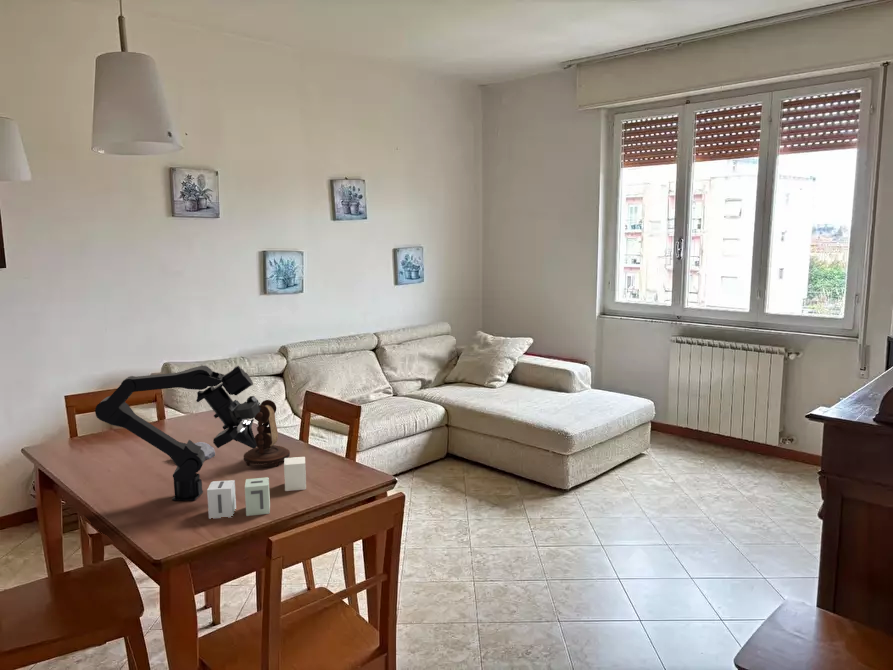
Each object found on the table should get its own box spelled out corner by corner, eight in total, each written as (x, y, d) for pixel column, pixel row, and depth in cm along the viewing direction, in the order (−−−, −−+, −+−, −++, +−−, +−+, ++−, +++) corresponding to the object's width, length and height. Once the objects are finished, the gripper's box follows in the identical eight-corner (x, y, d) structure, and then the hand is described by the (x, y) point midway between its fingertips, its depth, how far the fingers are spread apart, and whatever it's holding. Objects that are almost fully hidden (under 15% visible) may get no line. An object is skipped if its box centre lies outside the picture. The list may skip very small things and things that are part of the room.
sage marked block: (246, 516, 171) (244, 487, 169) (247, 507, 177) (245, 478, 175) (269, 513, 172) (268, 484, 171) (269, 504, 178) (268, 476, 177)
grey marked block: (208, 519, 169) (206, 489, 168) (213, 509, 175) (211, 480, 174) (232, 517, 170) (230, 488, 169) (236, 507, 176) (234, 479, 175)
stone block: (218, 461, 218) (202, 450, 224) (219, 449, 217) (202, 437, 223) (186, 472, 209) (169, 460, 215) (186, 459, 208) (169, 447, 213)
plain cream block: (285, 491, 188) (284, 465, 186) (285, 483, 193) (284, 458, 192) (306, 489, 189) (305, 463, 188) (305, 481, 195) (305, 456, 194)
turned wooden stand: (281, 469, 205) (279, 408, 202) (236, 468, 206) (233, 407, 203) (295, 453, 220) (293, 397, 217) (253, 453, 221) (250, 396, 218)
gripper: (227, 408, 171) (262, 454, 175) (257, 378, 188) (289, 420, 192) (197, 425, 175) (232, 469, 178) (230, 394, 192) (261, 435, 195)
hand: (255, 447), depth 186 cm, fingers closed
